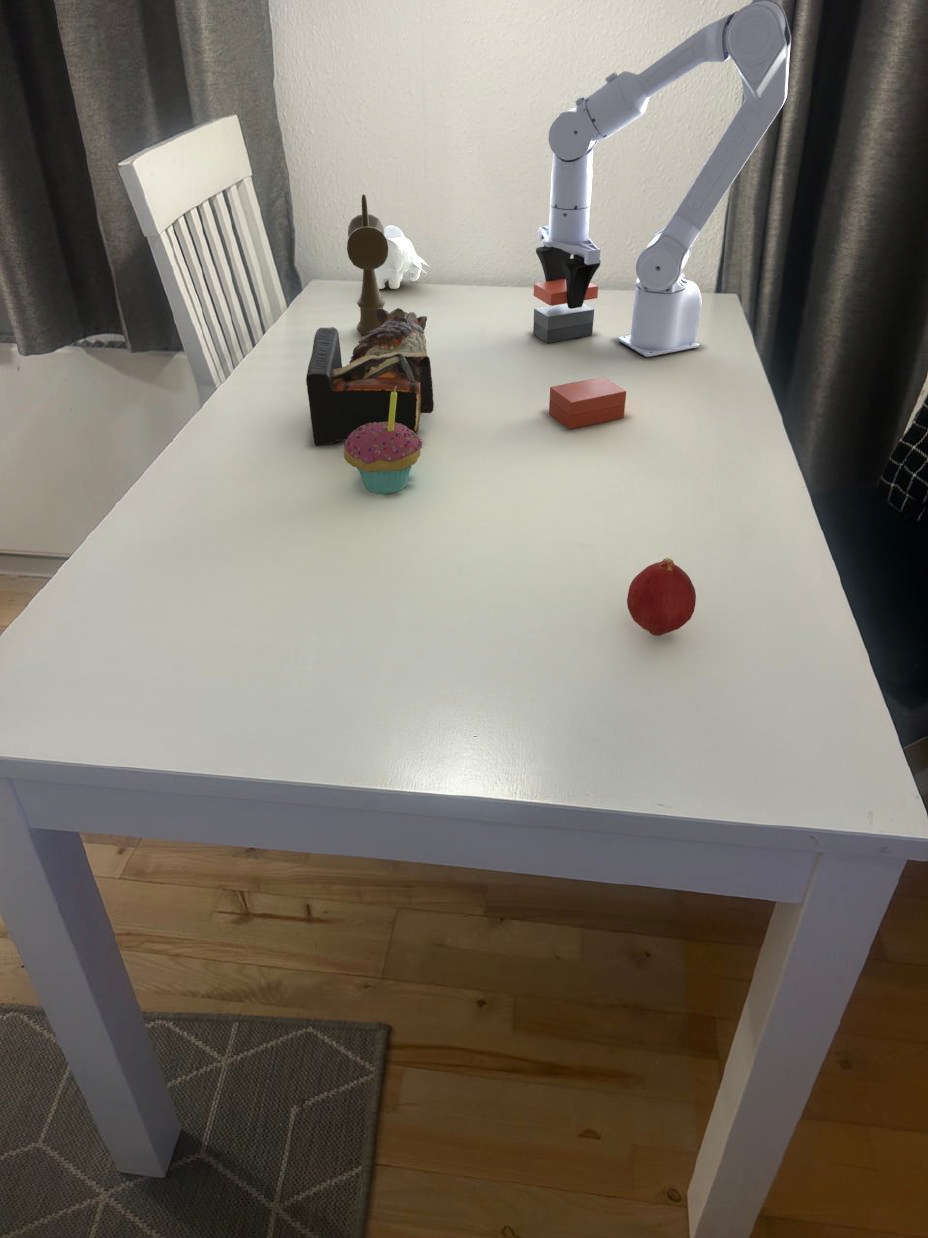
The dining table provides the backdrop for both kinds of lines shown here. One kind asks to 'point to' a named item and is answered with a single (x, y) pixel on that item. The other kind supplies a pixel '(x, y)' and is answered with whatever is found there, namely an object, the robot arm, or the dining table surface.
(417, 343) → the bookend
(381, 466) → the cupcake
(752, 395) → the dining table surface
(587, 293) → the flat red block
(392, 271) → the elephant figurine
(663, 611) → the onion
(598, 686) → the dining table surface
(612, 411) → the red rectangular block
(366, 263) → the kendama
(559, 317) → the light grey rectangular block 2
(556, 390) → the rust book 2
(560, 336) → the dark grey rectangular block
